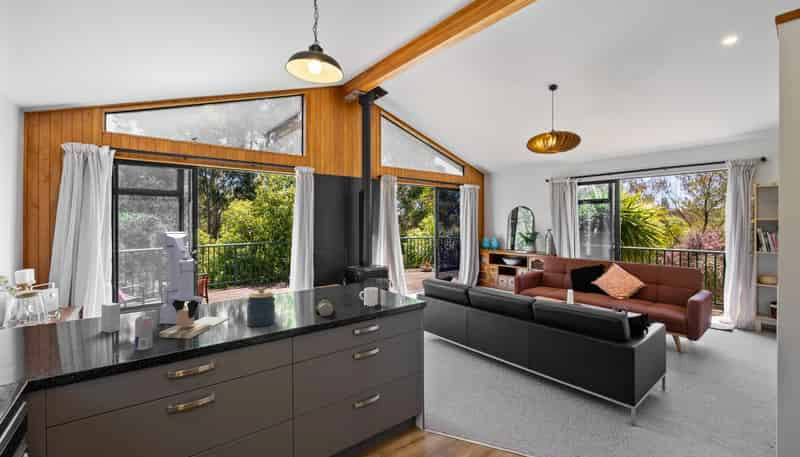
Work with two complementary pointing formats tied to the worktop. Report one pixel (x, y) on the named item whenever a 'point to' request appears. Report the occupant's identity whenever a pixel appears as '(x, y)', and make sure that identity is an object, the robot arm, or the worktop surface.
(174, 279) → the robot arm
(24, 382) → the worktop surface
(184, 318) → the peg
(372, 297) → the mug
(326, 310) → the ceramic sculpture
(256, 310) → the canister
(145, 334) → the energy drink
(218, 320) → the sage mat
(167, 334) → the socket block
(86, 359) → the worktop surface
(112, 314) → the skincare box
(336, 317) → the worktop surface
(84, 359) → the worktop surface
